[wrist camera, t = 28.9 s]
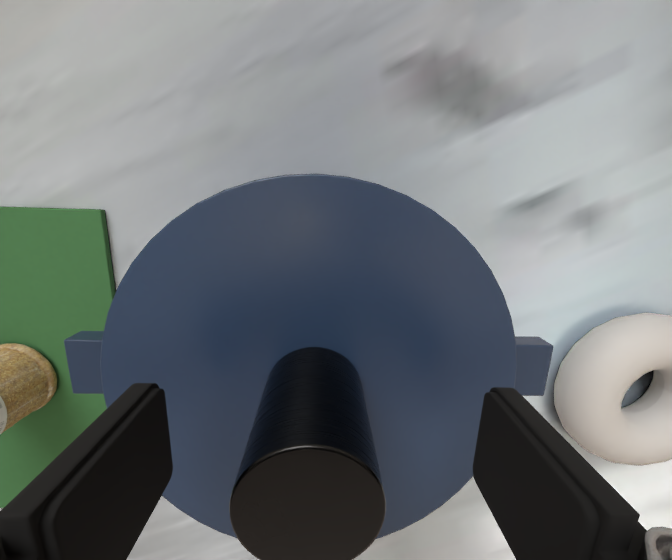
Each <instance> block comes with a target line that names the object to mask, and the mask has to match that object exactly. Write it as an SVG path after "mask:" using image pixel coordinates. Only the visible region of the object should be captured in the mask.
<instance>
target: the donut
mask: <svg viewBox="0 0 672 560" xmlns="http://www.w3.org/2000/svg"><path fill="white" fill-rule="evenodd" d="M652 370H653V371H654V373H653V379H652V382H651V384H650V387H649V388H648V390H647V391H646V392H645V393H644V395H643V396H642V397H641V398H639V399H638V400H637V401H636V402H634V403H633V404H631V405H628V406H626V407H623V408H621V403H622V400H623V398H624V395H625V393H626V392H627V390H628V389H629V388H630V386H631V385H632V384H633V382H635V381H636V380H637V379H639V378H640V377H641V376H642V375H644V374H645V373H648V372H650V371H652ZM554 404H555V408H556V411H557V413H558V416H559V418H560V421H561V423H562V426H563V428H564V429H565V430H566V431H567V433H568V434H569V435H570V436H571V437H572V438H573V439H574V440H575V441H576V442H577V443H578V444H579V445H580V446H581V447H582V448H584V449H585V450H586V451H588V452H590V453H592V454H594V455H596V456H599V457H601V458H603V459H605V460H607V461H611V462H614V463H619V464H628V465H648V464H654V463H660V462H666V461H668V460H670V459H672V316H669V315H662V314H655V313H648V312H647V313H640V314H634V315H628V316H622V317H616V318H614V319H612V320H609V321H607V322H605V323H603V324H601V325H599V326H597V327H595V328H593V329H592V330H590V331H589V332H588V333H587V334H586V335H584V336H583V337H582V338H581V339H580V340H578V341H577V342H576V343H575V344H574V345H573V347H572V348H571V350H570V351H569V352H568V354H567V355H566V357H565V358H564V359H563V361H562V362H561V364H560V367H559V370H558V373H557V376H556V379H555V382H554Z"/></svg>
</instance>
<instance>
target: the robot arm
mask: <svg viewBox="0 0 672 560" xmlns="http://www.w3.org/2000/svg"><path fill="white" fill-rule="evenodd" d="M172 472H173V462H172V453H171V444H170V434H169V425H168V416H167V407H166V398H165V391H164V390H163V389H159V386H158V384H156V383H134V384H132V385H131V386H130V387H129V388H128V389H127V390H126V391H125V392H124V393H123V394H122V395H121V396H120V397H119V398H117V399H116V400H115V401H114V402H113V403H112V404H111V405H110V406H109V407H108V408H107V409H106V410H105V411H104V412H103V413H102V414H101V415H100V416H99V417H98V418H97V419H96V420H95V421H94V422H93V423H92V424H90V425H89V426H88V427H87V428H86V429H85V430H84V431H83V432H82V433H81V434H80V435H79V436H78V437H77V438H76V439H75V440H74V441H73V442H72V443H71V444H70V445H69V446H68V447H67V448H66V449H64V450H63V451H62V452H61V453H60V454H59V455H58V456H57V457H56V458H55V459H54V460H53V461H52V462H51V463H50V464H49V465H48V466H47V467H46V468H45V469H44V470H43V471H42V472H41V473H40V474H39V475H37V476H36V477H35V478H34V479H33V480H32V481H31V482H30V483H29V484H28V485H27V486H26V487H25V488H24V489H23V490H22V491H21V492H20V493H19V494H18V495H17V496H16V497H15V498H14V499H13V500H12V501H10V502H9V503H8V504H7V505H6V506H5V507H4V508H3V509H2V510H1V511H0V560H126V559H127V557H128V555H129V554H130V552H131V550H132V548H133V546H134V545H135V543H136V541H137V539H138V537H139V536H140V534H141V532H142V530H143V528H144V526H145V525H146V523H147V521H148V519H149V517H150V516H151V514H152V512H153V510H154V508H155V507H156V505H157V503H158V501H159V499H160V497H161V496H162V494H163V492H164V490H165V488H166V487H167V485H168V483H169V481H170V479H171V476H172ZM473 476H474V479H475V482H476V484H477V486H478V488H479V489H480V491H481V493H482V495H483V497H484V499H485V501H486V503H487V505H488V507H489V508H490V510H491V512H492V514H493V516H494V518H495V520H496V522H497V524H498V526H499V527H500V529H501V531H502V533H503V535H504V537H505V539H506V541H507V543H508V545H509V546H510V548H511V550H512V552H513V554H514V556H515V558H516V560H672V529H671V528H666V527H654V528H651V529H649V530H648V531H647V530H646V529H645V528H644V527H643V526H642V525H641V524H640V523H639V522H638V519H639V516H640V515H639V514H638V513H637V512H636V511H635V510H634V509H633V508H632V507H631V506H630V504H629V503H628V502H627V501H626V500H625V499H624V498H623V497H622V496H621V495H620V494H619V493H618V492H617V491H616V490H615V489H614V488H613V487H612V486H611V485H610V484H609V483H608V482H607V481H606V480H605V479H604V478H603V477H602V476H601V475H600V474H599V473H598V472H597V471H596V470H595V469H594V468H593V467H592V466H591V465H590V464H589V463H588V462H587V461H586V460H585V459H584V458H583V457H582V456H581V455H580V454H579V453H578V452H577V451H576V450H575V449H574V448H573V447H572V446H571V445H570V444H569V443H568V442H567V441H566V440H565V439H564V438H563V437H562V436H561V435H560V434H559V433H558V432H557V431H556V430H555V429H554V428H553V427H552V426H551V425H550V424H549V423H548V422H547V421H546V420H545V419H544V418H543V417H542V416H541V415H540V414H539V413H538V412H537V410H536V409H535V408H534V407H533V406H532V405H531V404H530V403H529V402H528V401H527V400H526V399H525V398H524V397H523V396H522V395H521V394H520V393H519V392H518V391H517V390H516V389H514V388H511V387H493V388H491V390H490V392H487V393H485V395H484V400H483V406H482V412H481V418H480V424H479V431H478V437H477V443H476V449H475V455H474V461H473Z"/></svg>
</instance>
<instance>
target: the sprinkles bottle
mask: <svg viewBox="0 0 672 560" xmlns="http://www.w3.org/2000/svg"><path fill="white" fill-rule="evenodd" d="M56 389H57V376H56V373H55V371H54V368H53V367H52V365H51V363H50V362H49V361H48V360H47V359H46V358H45V357H44V356H42V355H41V354H40V353H39V352H38V351H36V350H35V349H33V348H31V347H28V346H26V345H23V344H16V343H12V344H2V345H0V435H1V434H2V433H3V432H4V431H6V430H7V429H9V428H10V427H12V426H13V425H14V424H15V423H17V422H18V421H19V420H21V419H22V418H24V417H26V416H27V415H29V414H30V413H31V412H33V411H36V410H38V409H40V408H41V407H43V406H44V405H46V404H47V403H48V402H49V401H50V400H51V398H52V397H53V395H54V393H55V391H56Z"/></svg>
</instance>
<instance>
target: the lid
mask: <svg viewBox="0 0 672 560" xmlns="http://www.w3.org/2000/svg"><path fill="white" fill-rule="evenodd" d="M100 367H101V379H102V390H103V394H104V398H105V403H106V407H107V408H108V407H109V406H110V405H111V404H112V403H113V402H114V401H115V400H116V399H117V398H119V397H120V396H121V395H122V394H123V393H124V392H125V391H126V390H127V389H128V388H129V387H130V386H131V385H132V384H134V383H156V384H158V386H159V389H163V390H164V391H165V398H166V407H167V416H168V425H169V434H170V444H171V453H172V462H173V472H172V476H171V479H170V481H169V483H168V485H167V487H166V488H165V490H164V492H163V494H162V496H163V497H164V498H166V499H167V500H168V501H169V502H171V503H172V504H173V505H174V506H175V507H177V508H178V509H179V510H181V511H183V512H184V513H186V514H187V515H189V516H190V517H192V518H194V519H195V520H197V521H198V522H200V523H202V524H204V525H207V526H209V527H211V528H213V529H215V530H217V531H219V532H221V533H224V534H227V535H230V536H233V537H235V538H238V540H239V541H240V542H241V544H242V545H243V546H244V547H245V548H246V549H247V550H248V551H249V552H250V553H251V554H252V555H254V556H255V557H257V558H258V559H260V560H352V559H354V558H355V557H357V556H358V555H360V554H361V553H362V552H364V551H365V550H366V549H367V548H368V547H369V546H370V545H371V544H372V542H373V541H374V540H375V539H377V538H381V537H383V536H386V535H388V534H391V533H393V532H396V531H398V530H401V529H403V528H405V527H407V526H409V525H411V524H413V523H415V522H417V521H418V520H420V519H422V518H424V517H425V516H427V515H428V514H430V513H431V512H433V511H434V510H436V509H437V508H439V507H440V506H442V505H443V504H444V503H445V502H446V501H448V500H449V499H450V498H451V497H452V496H454V495H455V494H456V493H457V492H458V491H459V490H460V489H461V488H462V487H463V486H464V485H465V484H466V483H467V482H468V481H469V480H470V479H471V478H472V477H473V461H474V455H475V449H476V443H477V437H478V431H479V424H480V418H481V412H482V406H483V400H484V395H485V393H487V392H490V390H491V388H493V387H511V388H515V378H516V369H517V361H516V341H515V335H514V330H513V325H512V319H511V316H510V313H509V310H508V307H507V304H506V301H505V298H504V295H503V293H502V291H501V289H500V287H499V285H498V283H497V281H496V279H495V277H494V275H493V273H492V271H491V269H490V268H489V267H488V265H487V264H486V263H485V261H484V260H483V258H482V257H481V256H480V254H479V253H478V251H477V250H476V249H475V247H474V246H473V245H472V244H471V243H470V242H469V241H468V240H467V239H466V238H465V237H464V236H463V235H462V234H461V233H460V232H459V231H458V230H457V229H456V228H455V227H454V226H453V225H451V224H450V223H449V222H447V221H446V220H445V219H443V218H442V217H441V216H440V215H438V214H437V213H436V212H434V211H433V210H432V209H430V208H428V207H426V206H425V205H423V204H421V203H419V202H417V201H416V200H414V199H412V198H410V197H409V196H407V195H404V194H402V193H399V192H397V191H394V190H392V189H389V188H387V187H384V186H382V185H379V184H375V183H371V182H367V181H363V180H359V179H355V178H351V177H344V176H334V175H324V174H297V175H282V176H276V177H271V178H265V179H259V180H254V181H251V182H248V183H245V184H242V185H238V186H235V187H232V188H229V189H226V190H223V191H221V192H219V193H217V194H215V195H213V196H211V197H209V198H207V199H205V200H203V201H201V202H199V203H197V204H195V205H194V206H192V207H191V208H189V209H188V210H186V211H185V212H184V213H182V214H181V215H179V216H178V217H176V218H175V219H173V220H172V221H171V222H170V223H169V224H167V225H166V226H165V227H164V228H163V229H162V230H161V231H160V232H159V233H158V234H157V235H155V236H154V237H153V238H152V239H151V240H150V241H149V242H148V244H147V245H146V246H145V247H144V249H143V250H142V251H141V252H140V254H139V255H138V256H137V257H136V258H135V260H134V261H133V262H132V264H131V265H130V267H129V269H128V271H127V272H126V274H125V276H124V277H123V279H122V281H121V283H120V284H119V286H118V288H117V291H116V293H115V296H114V298H113V301H112V303H111V306H110V308H109V311H108V314H107V319H106V323H105V327H104V332H103V336H102V346H101V361H100Z"/></svg>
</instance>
